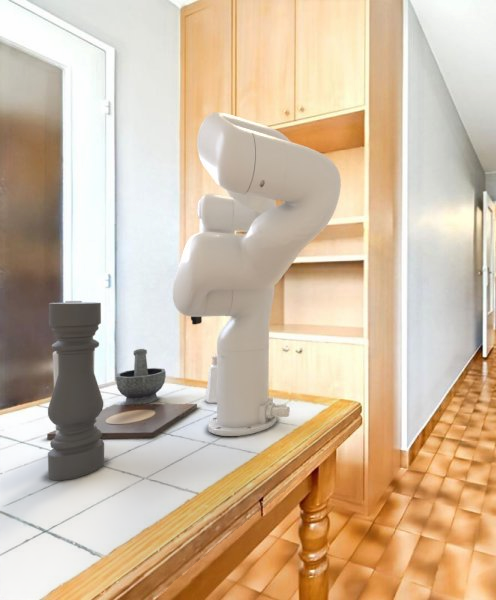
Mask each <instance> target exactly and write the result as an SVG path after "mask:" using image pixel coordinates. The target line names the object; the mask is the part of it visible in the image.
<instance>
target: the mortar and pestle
mask: <svg viewBox="0 0 496 600" xmlns="http://www.w3.org/2000/svg"><path fill="white" fill-rule="evenodd" d="M147 354H148V350H147V349H145V348H137V349H134V351H133V356H134V364H133V369H131V370H125V371H122V372H119V373H116V375H115V380H116V381H115V384H116V388H117V390H118V391H119V393H120V394H121V395H123V396H124V397H125V404H151V403H153V402H155V401H157V400H158V396H157V393H158V392H159V391H160V390H161V389H162V388H163V386H164V384H165V381H166V377H167V375H166V370H165V368H158V367H148V361H147V360H148V359H147Z"/></svg>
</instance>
